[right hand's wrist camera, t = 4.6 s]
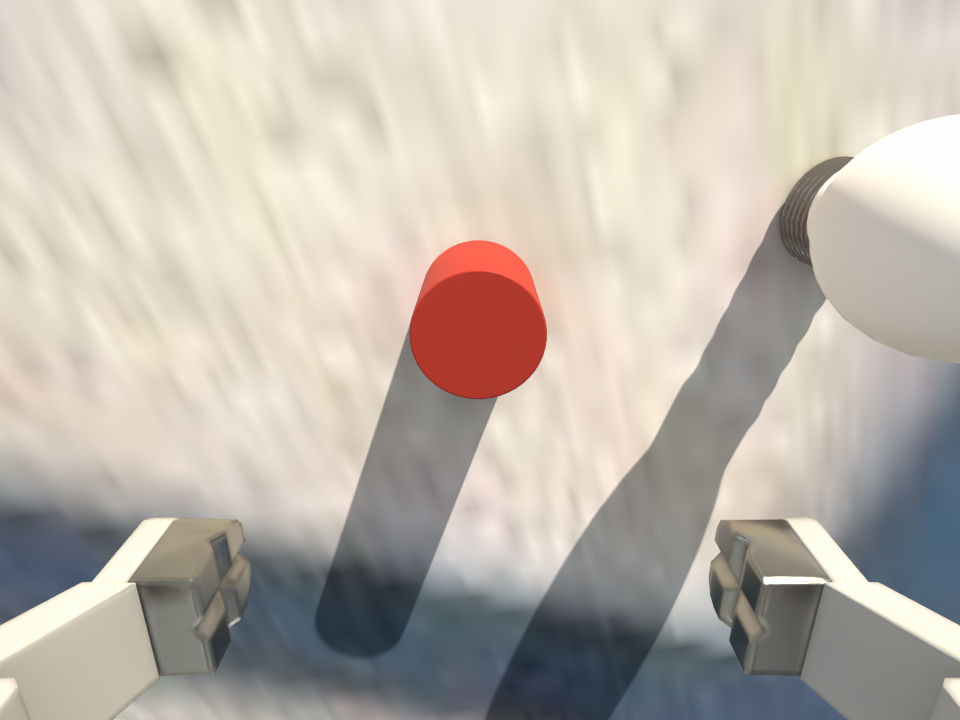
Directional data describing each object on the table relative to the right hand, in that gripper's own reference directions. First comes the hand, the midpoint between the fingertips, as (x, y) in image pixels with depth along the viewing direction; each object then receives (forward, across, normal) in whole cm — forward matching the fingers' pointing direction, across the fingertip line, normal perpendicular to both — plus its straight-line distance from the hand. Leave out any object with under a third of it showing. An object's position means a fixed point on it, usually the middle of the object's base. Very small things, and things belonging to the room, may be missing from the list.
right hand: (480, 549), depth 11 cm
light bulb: (+16, -13, -4) cm, 21 cm away
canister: (+16, 0, 0) cm, 16 cm away
